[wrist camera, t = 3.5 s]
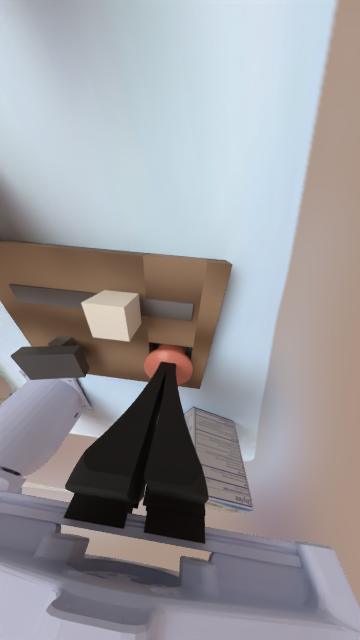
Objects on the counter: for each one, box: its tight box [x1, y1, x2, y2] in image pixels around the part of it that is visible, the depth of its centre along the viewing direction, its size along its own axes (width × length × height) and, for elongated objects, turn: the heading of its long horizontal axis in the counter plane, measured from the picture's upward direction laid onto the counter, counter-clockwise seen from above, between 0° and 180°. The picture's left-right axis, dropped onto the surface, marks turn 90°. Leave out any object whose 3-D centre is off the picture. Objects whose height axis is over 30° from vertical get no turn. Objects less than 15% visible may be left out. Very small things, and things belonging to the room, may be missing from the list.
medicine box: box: [184, 407, 254, 513], centre depth 18 cm, size 8×4×9 cm, turn 63°
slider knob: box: [81, 290, 141, 342], centre depth 9 cm, size 2×2×2 cm
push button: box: [144, 343, 193, 385], centre depth 13 cm, size 4×4×3 cm
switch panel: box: [0, 240, 232, 389], centre depth 12 cm, size 13×18×3 cm
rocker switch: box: [11, 346, 90, 380], centre depth 11 cm, size 3×4×1 cm
